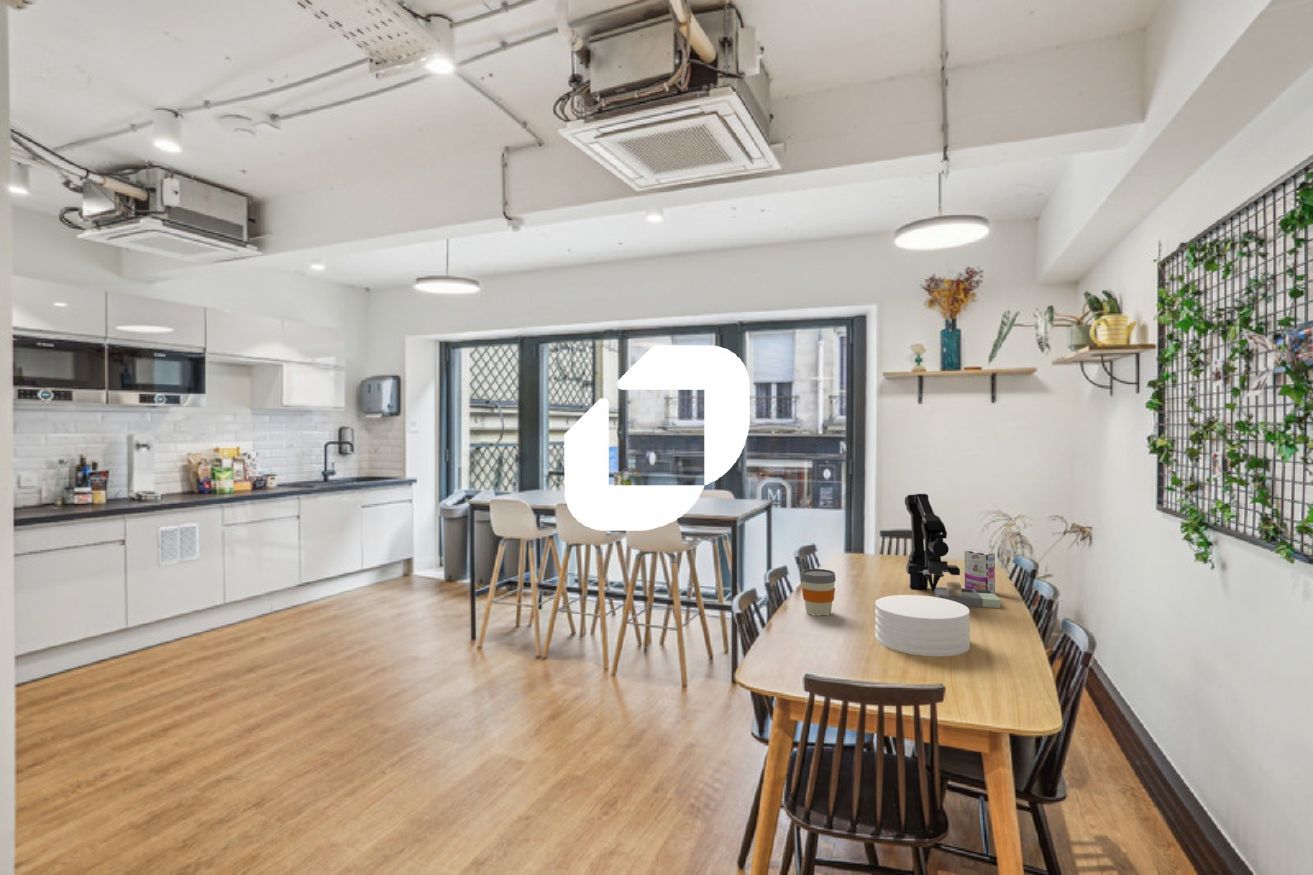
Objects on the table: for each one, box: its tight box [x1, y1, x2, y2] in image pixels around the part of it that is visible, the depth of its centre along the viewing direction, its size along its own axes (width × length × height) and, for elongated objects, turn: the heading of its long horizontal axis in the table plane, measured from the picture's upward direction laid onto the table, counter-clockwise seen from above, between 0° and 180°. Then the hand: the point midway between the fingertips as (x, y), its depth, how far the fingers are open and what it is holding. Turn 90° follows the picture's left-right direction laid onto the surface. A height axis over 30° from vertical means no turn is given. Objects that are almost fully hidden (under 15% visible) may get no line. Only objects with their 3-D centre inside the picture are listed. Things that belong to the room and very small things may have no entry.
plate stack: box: [874, 594, 971, 657], centre depth 210 cm, size 28×28×12 cm
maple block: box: [946, 581, 962, 597], centre depth 255 cm, size 4×4×4 cm
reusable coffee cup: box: [800, 568, 836, 616], centre depth 244 cm, size 13×13×15 cm
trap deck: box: [933, 586, 1001, 609], centre depth 257 cm, size 21×16×3 cm
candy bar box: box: [964, 549, 996, 594], centre depth 272 cm, size 11×5×16 cm, turn 25°
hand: (933, 591), depth 257 cm, fingers closed
